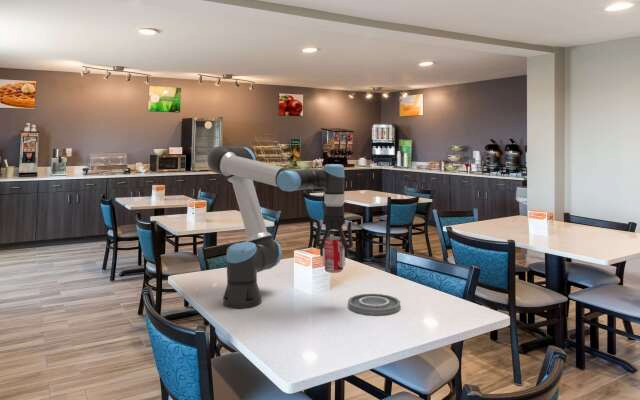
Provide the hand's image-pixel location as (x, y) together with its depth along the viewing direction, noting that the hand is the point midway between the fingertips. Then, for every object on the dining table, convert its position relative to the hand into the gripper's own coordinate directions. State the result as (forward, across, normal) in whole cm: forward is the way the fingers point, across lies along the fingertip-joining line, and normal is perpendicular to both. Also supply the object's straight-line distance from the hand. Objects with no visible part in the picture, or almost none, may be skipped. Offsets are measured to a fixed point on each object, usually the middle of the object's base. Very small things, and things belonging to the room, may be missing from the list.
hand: (334, 264), depth 180 cm
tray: (+17, +15, +4) cm, 23 cm away
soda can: (+3, 0, 0) cm, 3 cm away
